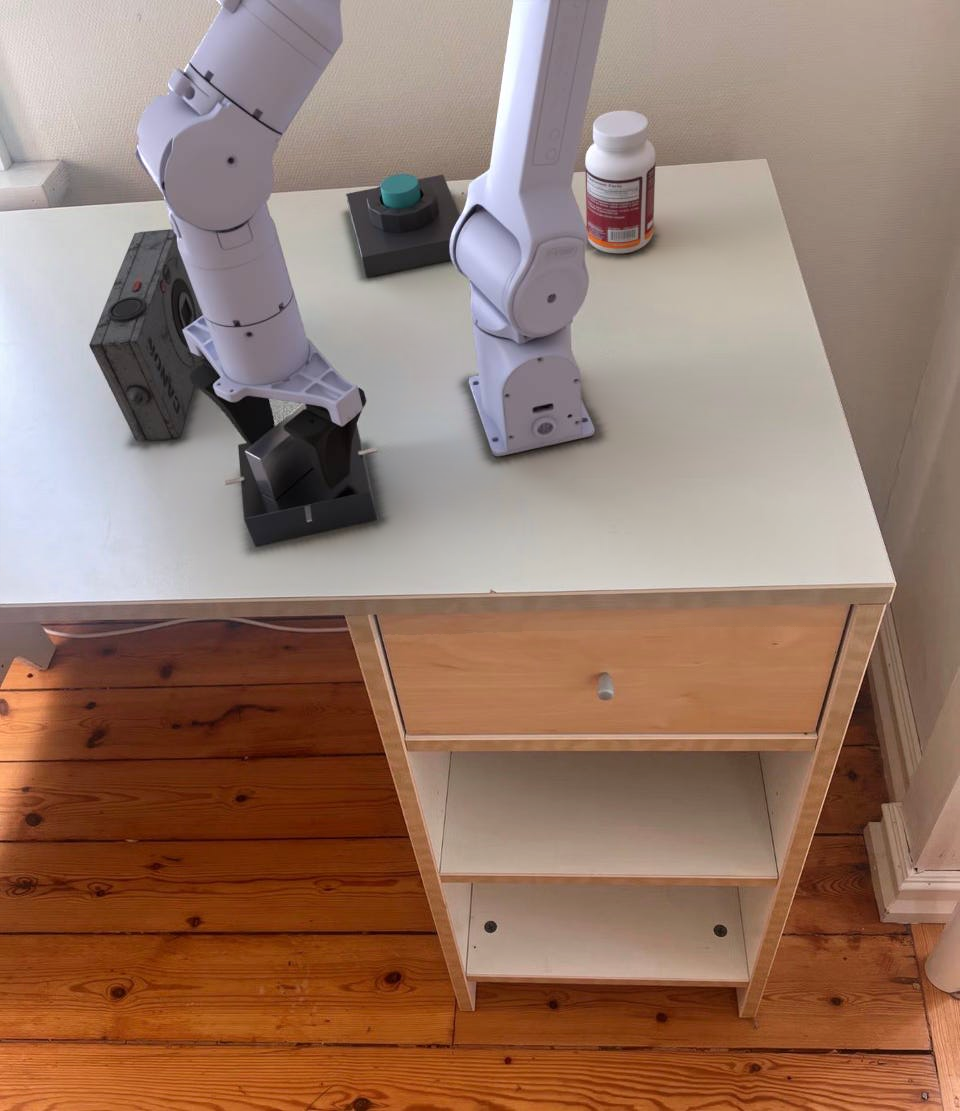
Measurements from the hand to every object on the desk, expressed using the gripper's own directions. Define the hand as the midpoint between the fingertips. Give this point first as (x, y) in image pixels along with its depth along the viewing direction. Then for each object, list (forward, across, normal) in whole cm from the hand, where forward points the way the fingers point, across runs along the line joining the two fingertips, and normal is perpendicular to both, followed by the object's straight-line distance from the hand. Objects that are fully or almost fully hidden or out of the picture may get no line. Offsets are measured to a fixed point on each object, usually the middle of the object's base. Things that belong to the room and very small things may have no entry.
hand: (298, 459), depth 70 cm
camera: (+4, -19, +3) cm, 20 cm away
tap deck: (+4, 0, 0) cm, 4 cm away
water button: (0, -17, +31) cm, 35 cm away
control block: (+4, -17, +31) cm, 36 cm away
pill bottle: (+4, +1, +41) cm, 41 cm away
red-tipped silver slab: (+1, 0, 0) cm, 1 cm away
